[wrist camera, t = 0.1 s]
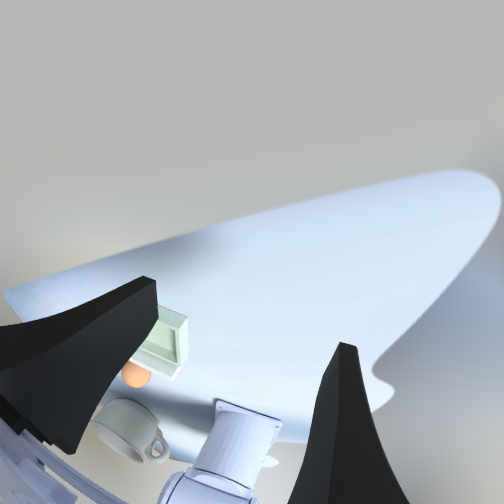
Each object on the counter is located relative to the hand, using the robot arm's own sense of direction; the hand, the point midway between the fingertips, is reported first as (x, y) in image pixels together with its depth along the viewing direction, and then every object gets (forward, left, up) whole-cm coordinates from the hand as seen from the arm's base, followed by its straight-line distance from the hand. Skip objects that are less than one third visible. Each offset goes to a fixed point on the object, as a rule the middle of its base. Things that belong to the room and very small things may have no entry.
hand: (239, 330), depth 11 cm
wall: (-18, +11, -10) cm, 24 cm away
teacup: (-40, +16, -10) cm, 44 cm away
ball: (-23, +14, -8) cm, 28 cm away
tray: (-15, +10, -10) cm, 21 cm away
